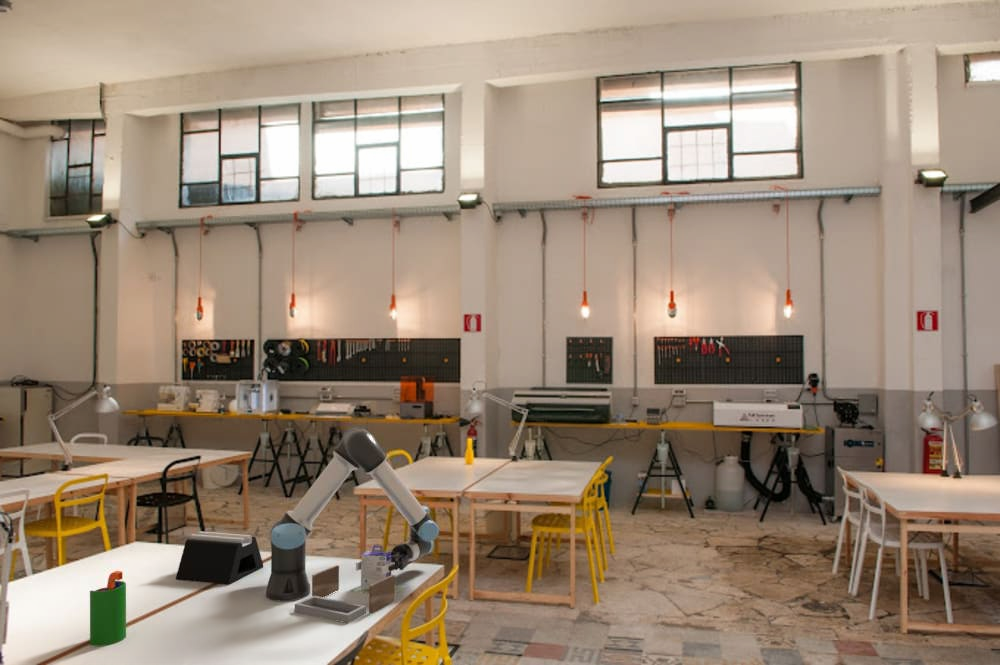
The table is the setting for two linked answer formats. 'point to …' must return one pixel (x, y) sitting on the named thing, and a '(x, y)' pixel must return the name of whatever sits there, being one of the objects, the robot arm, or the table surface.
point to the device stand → (219, 558)
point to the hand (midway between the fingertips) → (369, 568)
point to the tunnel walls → (378, 591)
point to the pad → (359, 589)
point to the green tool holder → (108, 612)
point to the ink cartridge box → (373, 566)
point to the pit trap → (330, 609)
